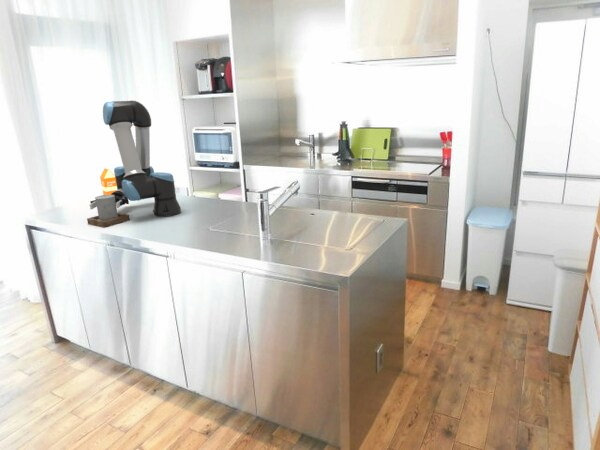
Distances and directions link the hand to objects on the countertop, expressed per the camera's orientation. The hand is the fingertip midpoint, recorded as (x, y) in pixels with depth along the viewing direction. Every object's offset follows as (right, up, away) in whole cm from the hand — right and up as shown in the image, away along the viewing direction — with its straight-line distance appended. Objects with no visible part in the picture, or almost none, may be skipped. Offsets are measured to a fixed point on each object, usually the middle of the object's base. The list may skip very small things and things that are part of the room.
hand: (103, 206), depth 218 cm
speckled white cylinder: (0, -7, +5) cm, 9 cm away
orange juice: (-23, +8, +61) cm, 66 cm away
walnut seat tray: (0, -8, +6) cm, 10 cm away
